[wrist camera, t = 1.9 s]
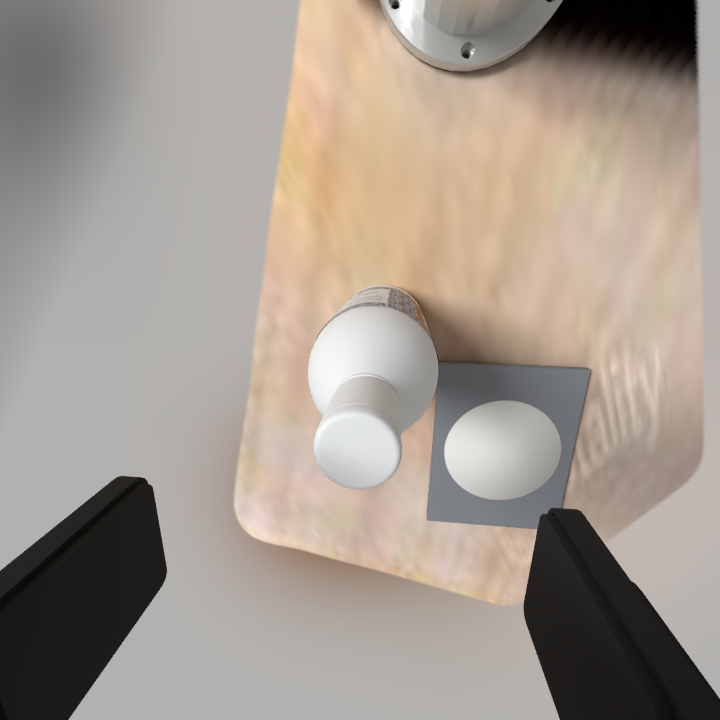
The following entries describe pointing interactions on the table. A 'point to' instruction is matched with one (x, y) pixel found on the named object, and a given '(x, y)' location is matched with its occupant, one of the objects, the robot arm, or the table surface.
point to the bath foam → (370, 384)
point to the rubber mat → (503, 441)
